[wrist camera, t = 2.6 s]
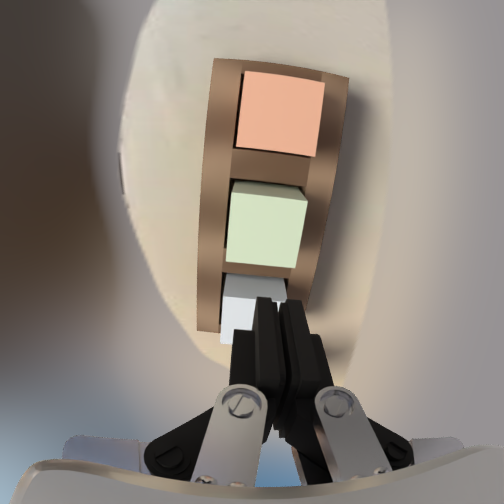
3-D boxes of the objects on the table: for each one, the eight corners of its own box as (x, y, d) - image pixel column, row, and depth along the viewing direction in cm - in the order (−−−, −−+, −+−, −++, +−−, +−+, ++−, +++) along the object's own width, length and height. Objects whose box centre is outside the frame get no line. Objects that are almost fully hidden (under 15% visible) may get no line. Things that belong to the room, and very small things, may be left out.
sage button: (235, 179, 22) (231, 192, 18) (297, 186, 22) (307, 201, 18) (230, 237, 24) (225, 261, 20) (288, 243, 24) (295, 268, 20)
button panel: (219, 68, 20) (213, 58, 17) (334, 84, 21) (349, 78, 17) (202, 306, 30) (196, 330, 27) (293, 315, 31) (297, 339, 27)
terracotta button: (246, 81, 19) (245, 70, 15) (310, 91, 19) (325, 82, 15) (239, 142, 21) (236, 146, 17) (302, 150, 21) (315, 156, 17)
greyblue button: (227, 268, 25) (223, 296, 21) (282, 273, 26) (288, 302, 22) (224, 312, 28) (220, 343, 23) (274, 316, 28) (277, 347, 24)
